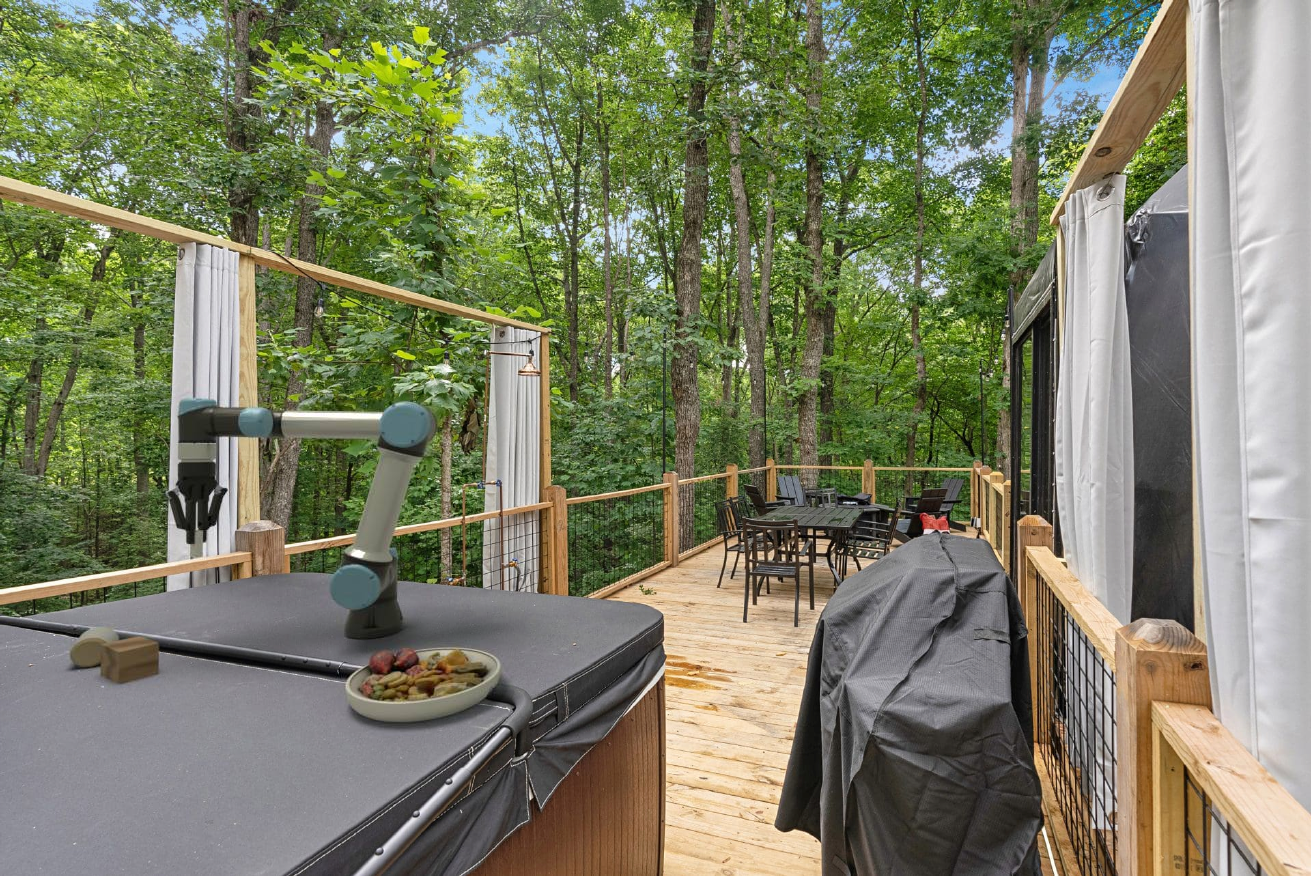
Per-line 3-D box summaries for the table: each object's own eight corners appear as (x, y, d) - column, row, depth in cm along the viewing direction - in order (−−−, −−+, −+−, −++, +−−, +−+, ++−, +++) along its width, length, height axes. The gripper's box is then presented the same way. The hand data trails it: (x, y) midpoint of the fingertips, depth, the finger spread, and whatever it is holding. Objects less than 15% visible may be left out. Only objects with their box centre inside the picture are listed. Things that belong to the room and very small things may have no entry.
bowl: (527, 678, 133) (527, 643, 133) (436, 741, 105) (437, 696, 105) (418, 662, 143) (418, 629, 143) (309, 715, 115) (309, 675, 115)
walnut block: (119, 652, 129) (119, 684, 129) (158, 642, 135) (158, 673, 135) (101, 644, 134) (100, 675, 134) (139, 635, 140) (139, 665, 140)
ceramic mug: (67, 671, 136) (68, 638, 136) (76, 660, 143) (78, 628, 143) (128, 663, 142) (129, 631, 142) (134, 653, 149) (136, 622, 149)
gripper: (218, 460, 154) (217, 551, 154) (157, 461, 142) (156, 560, 142) (234, 460, 150) (233, 553, 150) (173, 461, 139) (172, 562, 139)
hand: (196, 556), depth 146 cm, fingers closed
